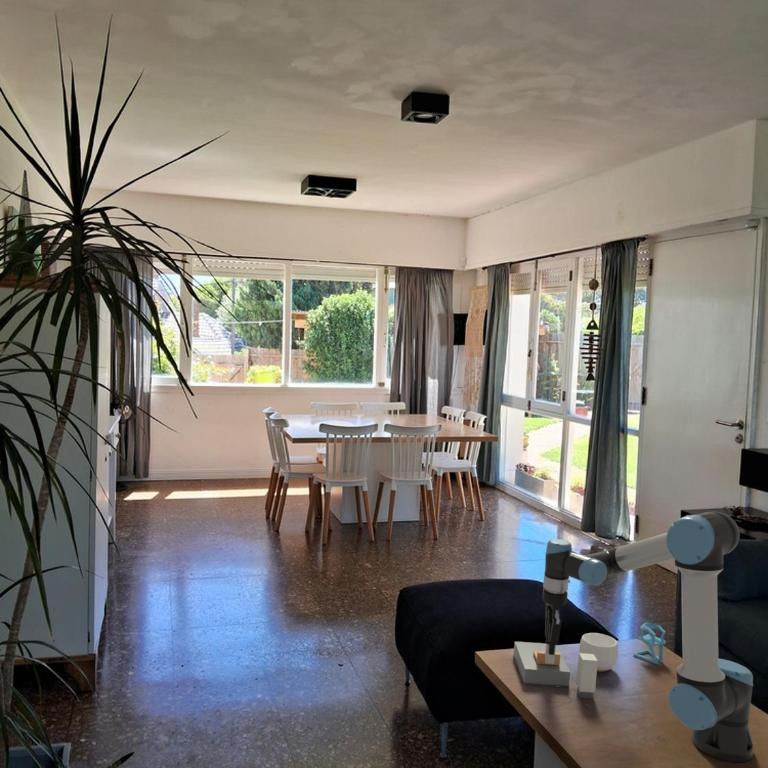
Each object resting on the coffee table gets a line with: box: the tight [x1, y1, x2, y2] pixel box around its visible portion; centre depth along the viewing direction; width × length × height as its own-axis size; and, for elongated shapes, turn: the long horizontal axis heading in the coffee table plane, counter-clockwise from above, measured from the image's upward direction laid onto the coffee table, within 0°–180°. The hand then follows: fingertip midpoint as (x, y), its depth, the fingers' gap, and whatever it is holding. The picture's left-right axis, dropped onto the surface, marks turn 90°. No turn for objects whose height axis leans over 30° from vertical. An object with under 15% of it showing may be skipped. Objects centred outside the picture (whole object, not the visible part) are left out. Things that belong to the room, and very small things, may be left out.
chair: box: [633, 622, 667, 665], centre depth 250 cm, size 8×8×12 cm
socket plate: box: [513, 641, 571, 688], centre depth 236 cm, size 20×14×5 cm
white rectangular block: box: [575, 652, 598, 699], centre depth 221 cm, size 4×4×12 cm
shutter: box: [533, 651, 561, 665], centre depth 232 cm, size 7×7×4 cm
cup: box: [579, 632, 619, 673], centre depth 240 cm, size 12×12×10 cm
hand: (549, 662), depth 228 cm, fingers closed
